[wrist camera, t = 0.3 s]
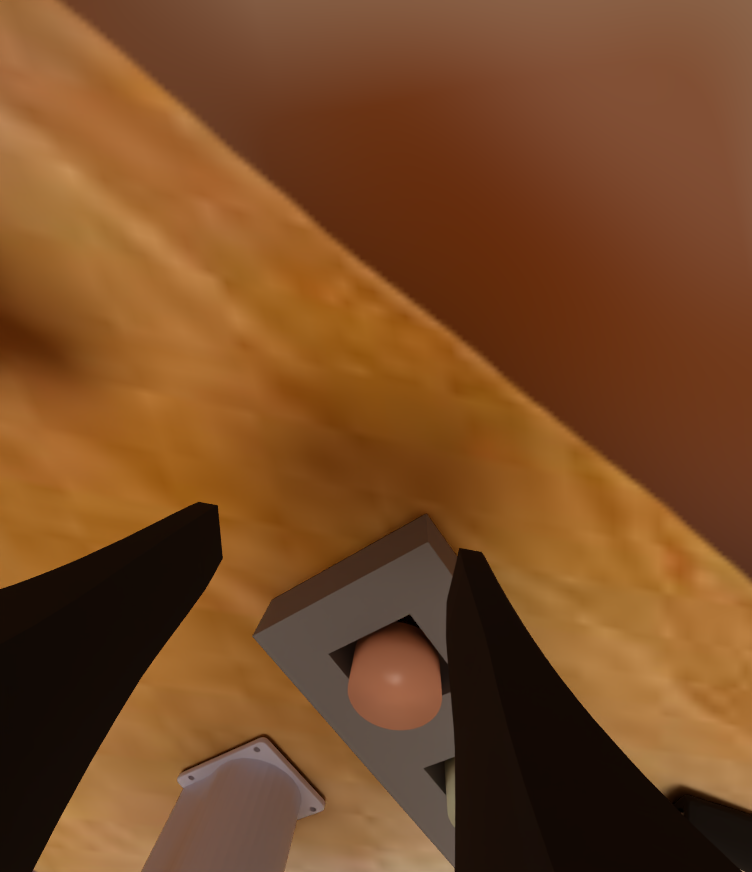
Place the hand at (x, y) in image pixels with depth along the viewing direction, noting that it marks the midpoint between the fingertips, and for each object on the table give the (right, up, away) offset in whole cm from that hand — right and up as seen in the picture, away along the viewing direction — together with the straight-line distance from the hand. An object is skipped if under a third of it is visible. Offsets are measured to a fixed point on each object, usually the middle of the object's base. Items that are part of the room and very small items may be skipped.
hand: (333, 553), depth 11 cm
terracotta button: (+2, -10, +11) cm, 15 cm away
